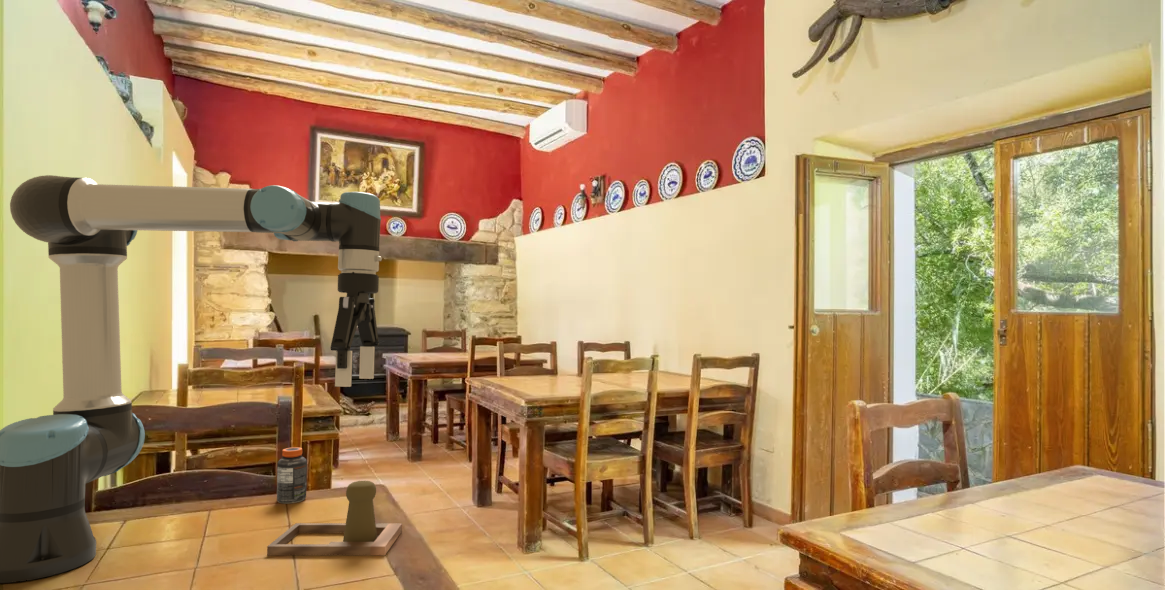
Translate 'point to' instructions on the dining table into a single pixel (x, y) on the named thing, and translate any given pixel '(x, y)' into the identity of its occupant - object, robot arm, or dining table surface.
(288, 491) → the pill bottle
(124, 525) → the dining table surface
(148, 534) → the dining table surface
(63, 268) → the robot arm
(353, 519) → the olive rounded upright piece
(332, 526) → the keyhole board
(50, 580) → the dining table surface
